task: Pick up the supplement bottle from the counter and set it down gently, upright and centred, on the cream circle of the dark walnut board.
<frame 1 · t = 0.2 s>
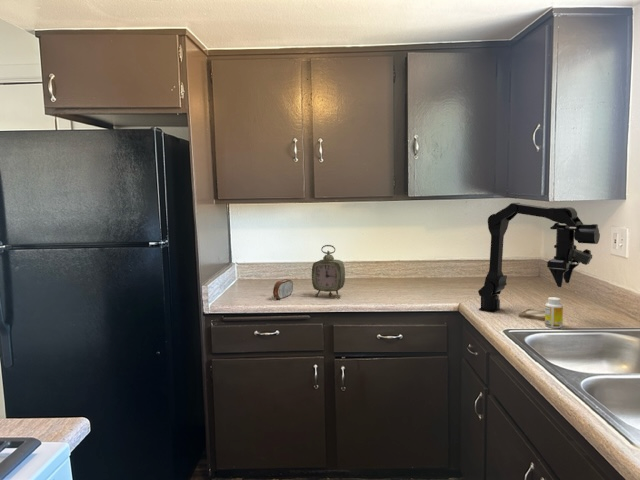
hand: (563, 284, 164), 14 cm above the worktop, tool pointing down, fingers open, 9 cm apart
supplement bottle: (553, 327, 162), on the worktop
tabletop clock: (329, 297, 216), on the worktop
tin: (283, 297, 217), on the worktop
walnut board: (537, 316, 175), on the worktop
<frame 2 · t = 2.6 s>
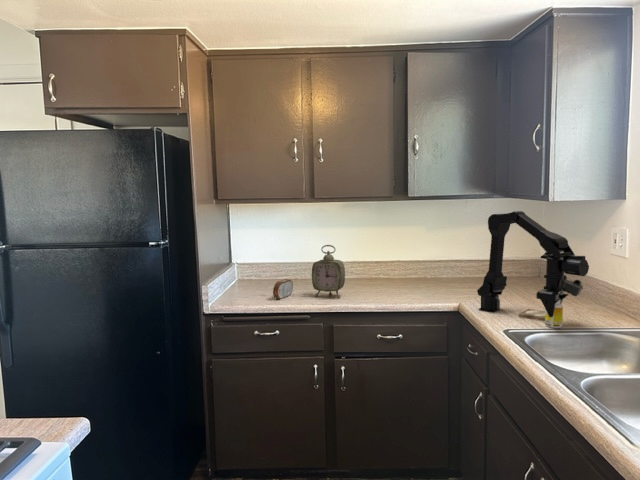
hand: (553, 315, 161), 4 cm above the worktop, tool pointing down, fingers closed on supplement bottle, 6 cm apart
supplement bottle: (553, 326, 162), on the worktop, touching gripper
everything else where it was.
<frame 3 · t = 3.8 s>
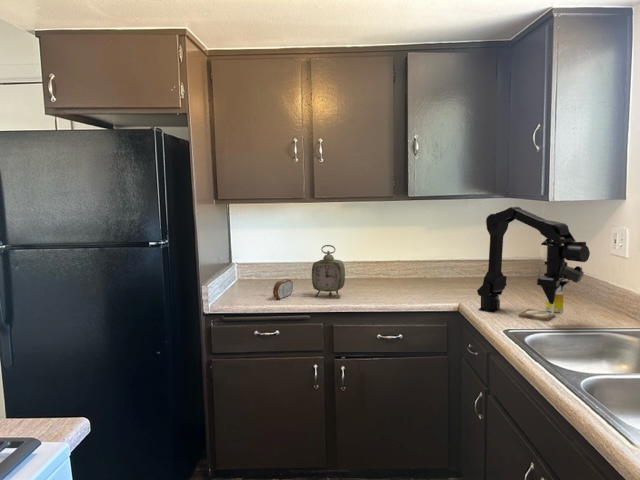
hand: (554, 302, 161), 9 cm above the worktop, tool pointing down, fingers closed on supplement bottle, 6 cm apart
supplement bottle: (553, 314, 161), point 5 cm above the worktop, touching gripper
everything else where it was.
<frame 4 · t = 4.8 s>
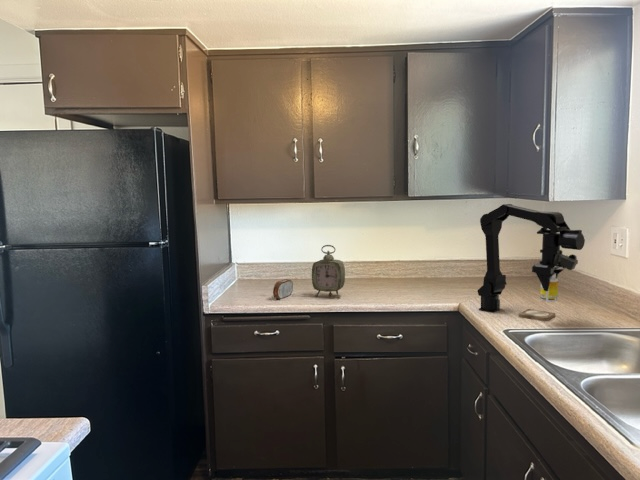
hand: (548, 289, 164), 13 cm above the worktop, tool pointing down, fingers closed on supplement bottle, 6 cm apart
supplement bottle: (548, 301, 165), point 8 cm above the worktop, touching gripper
everything else where it was.
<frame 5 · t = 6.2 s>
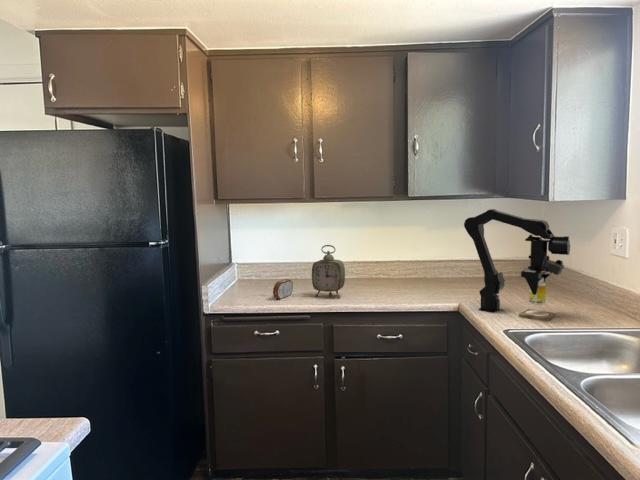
hand: (537, 293, 174), 9 cm above the worktop, tool pointing down, fingers closed on supplement bottle, 6 cm apart
supplement bottle: (537, 304, 175), point 5 cm above the worktop, touching gripper
everything else where it was.
when the fingers open (6 cm above the worktop, at t = 7.4 s): supplement bottle stays where it is, resting on walnut board.
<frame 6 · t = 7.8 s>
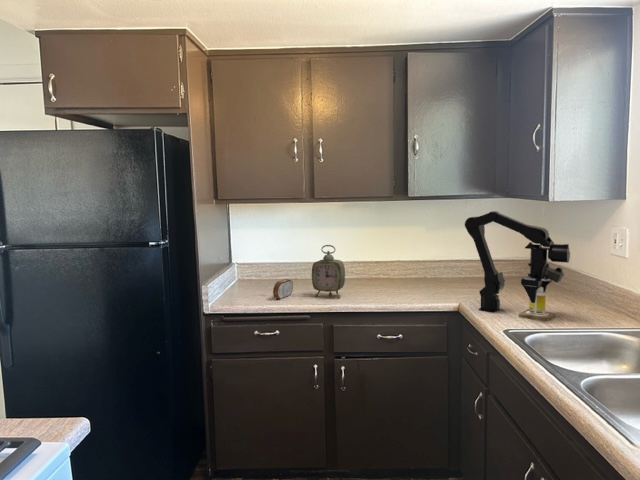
hand: (537, 300, 174), 6 cm above the worktop, tool pointing down, fingers open, 9 cm apart
supplement bottle: (536, 313, 175), point 1 cm above the worktop, touching walnut board
everything else where it was.
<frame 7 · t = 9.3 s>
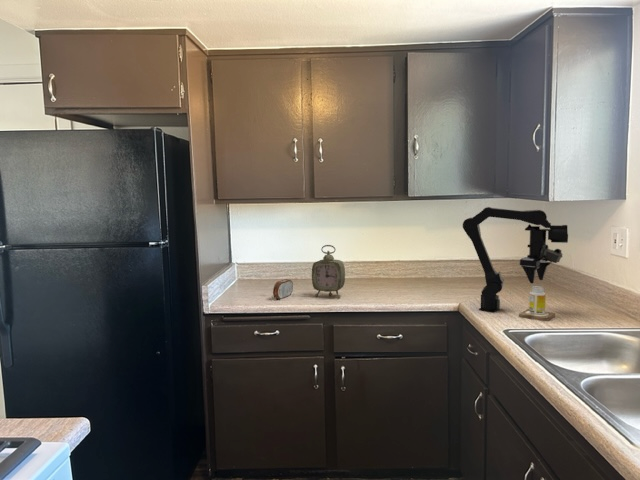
hand: (536, 281, 177), 13 cm above the worktop, tool pointing down, fingers open, 9 cm apart
nothing on the worktop moved.
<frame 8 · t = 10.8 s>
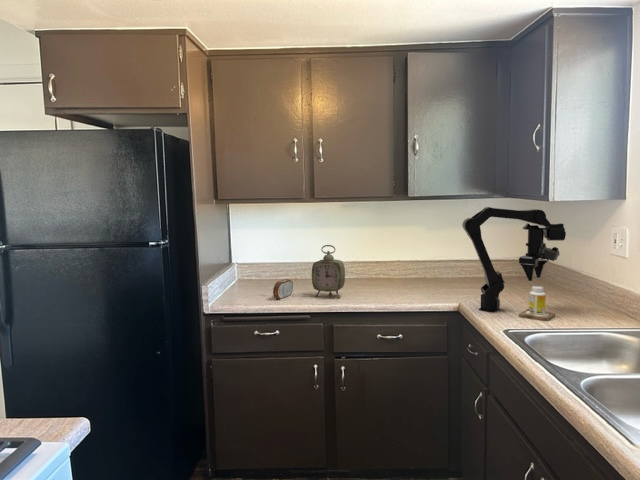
hand: (534, 279, 182), 13 cm above the worktop, tool pointing down, fingers open, 9 cm apart
nothing on the worktop moved.
at the end: supplement bottle 0.1 cm off-centre on the walnut board, point 1.1 cm above the walnut board's base; supplement bottle tilted 0°; the gripper is holding nothing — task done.
